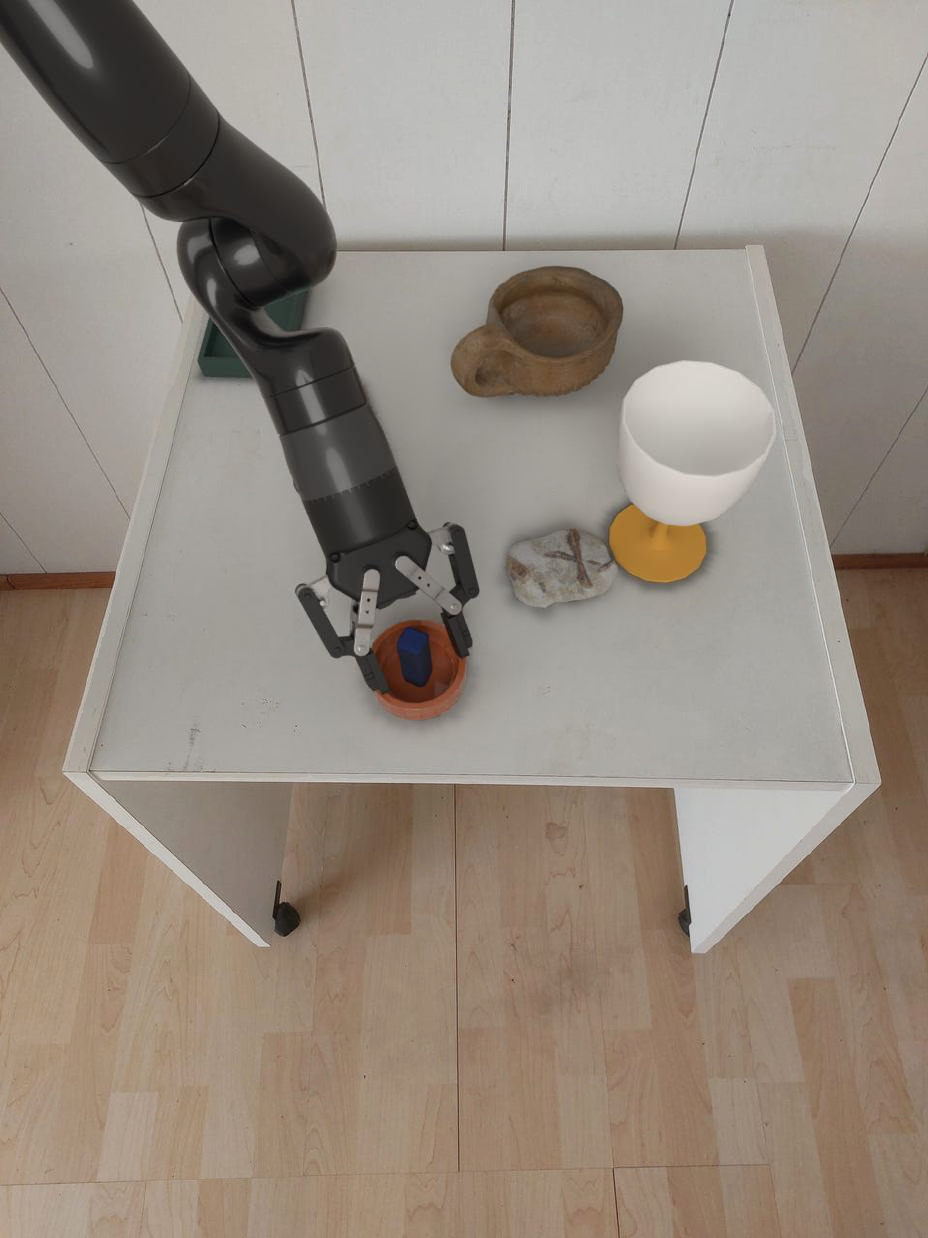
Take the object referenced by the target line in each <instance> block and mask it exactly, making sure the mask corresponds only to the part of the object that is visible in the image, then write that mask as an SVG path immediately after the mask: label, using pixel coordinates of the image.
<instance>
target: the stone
mask: <svg viewBox="0 0 928 1238" xmlns="http://www.w3.org/2000/svg"><path fill="white" fill-rule="evenodd" d="M505 569H506V571H505V573H506V574H505V575H506V576H507V577H508V578H510V580H511V584H512V591H513V594H514V596H515V598H516V599H518V600H519V601H520V602H521V603H523V604H525V605H527V606H531V607H535V608H543V609H550V608H552V604H554V603H565V602H566V603H567V602H571V601H579V600H585V599H589V598H593V597H597V596H600V595H603V594H604V593H606V592H607V591H608V590H609V589H610V588H611V587H612V585H613V584H614V581H615V580H616V579H617V576H618V572H619V567H618V565H617V564H616V560H615V559H614V558H611V557H610V554H609V550H608V548H607V546H606V544H605V543H604V541H603V540H602V539H601V538H600V537H599V536H597V535H596V534H593V533H591V532H588V531H585V530H579V529H577V528H570V529H560V530H554V531H553V532H551V533H550V534H547V535H544V536H541V537H535V538H530V539H528V540H522V541H518V542H516V543H514V544H513V545H511V546H510V547H509V550H508V556H507V558H506V562H505Z"/></svg>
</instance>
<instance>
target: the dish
mask: <svg viewBox="0 0 928 1238" xmlns="http://www.w3.org/2000/svg"><path fill="white" fill-rule="evenodd" d="M406 627H412V628H415V629H417V630H419V631H421V632H424V633H427V634H428V635H429V647H430V653H431V660H432V673H431V675H430V678H429V680H428V682H427V684H426V685H425V686H424V687H417V686H415V685H413V684H411V683H408V682H406V681H405V679H404V677H403V675H402V669H401V664H400V660H399V654H398V652H397V642H398V639H399V637H400V636H401V634H402V633H403V631H404V629H405V628H406ZM370 648H371V649H372V650H373V651H374V653H375V655H376V658H377V660H378V663H379V665H380V668H381V670H382V672H383V675H384V677H385V680H386V682H387V684H388V687H389V689H390V692H389V693H387V694H384V695H381V693H380V692H379V690H376V691H374V692H373V691H372V690H371V693H372V695H373V696H374V698H375V699H376V701H377V702H378V704H379V705H380V706H381V707H382V708H383V709H384V710H386V711H387V712H388V713H390V714H391V715H393V716H395V717H398V718H401V719H404V720H409V721H424V720H428V719H432V718H436V717H439V716H440V715H442V714H444V713H445V712H447V711H449V710H450V709H451V708H452V707H453V706H454V705H455V704H456V703H457V702H458V700H459V699H460V698H461V696H462V694H463V691H464V689H465V687H466V683H467V673H468V672H467V671H468V670H467V657H466V658H464V659H461V658H460V657H459V656H457V655H456V653H455V651H454V649H453V647H452V644H451V641H450V639H449V636H448V633H447V631H446V628H445V625H444V624H441V623H438V622H435V621H432V620H430V619H429V620H428V619H409V620H404V621H399V622H398V623H395V624H393V625H391V626H389V627H388V628H386V629H385V630H383V631H382V632H381V634H380V635H379V636H378V637H377V638H376V639H375V640H374V641H373V643H372V645H371V646H370Z"/></svg>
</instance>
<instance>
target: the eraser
mask: <svg viewBox="0 0 928 1238" xmlns="http://www.w3.org/2000/svg"><path fill="white" fill-rule="evenodd" d="M397 652H398V654H399V660H400V664H401V669H402V675H403V677H404V679H405V681H406V682H408V683H411V684H413V685H415V686H417V687H424V686H425V685H426V684H427V682H428V680H429V678H430V675H431V673H432V660H431V653H430V647H429V635H428V634H427V633H424V632H421V631H419V630H417V629H415V628H412V627H406V628H405V629H404V631H403V633H402V634H401V636H400V637H399V639H398V642H397Z"/></svg>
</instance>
